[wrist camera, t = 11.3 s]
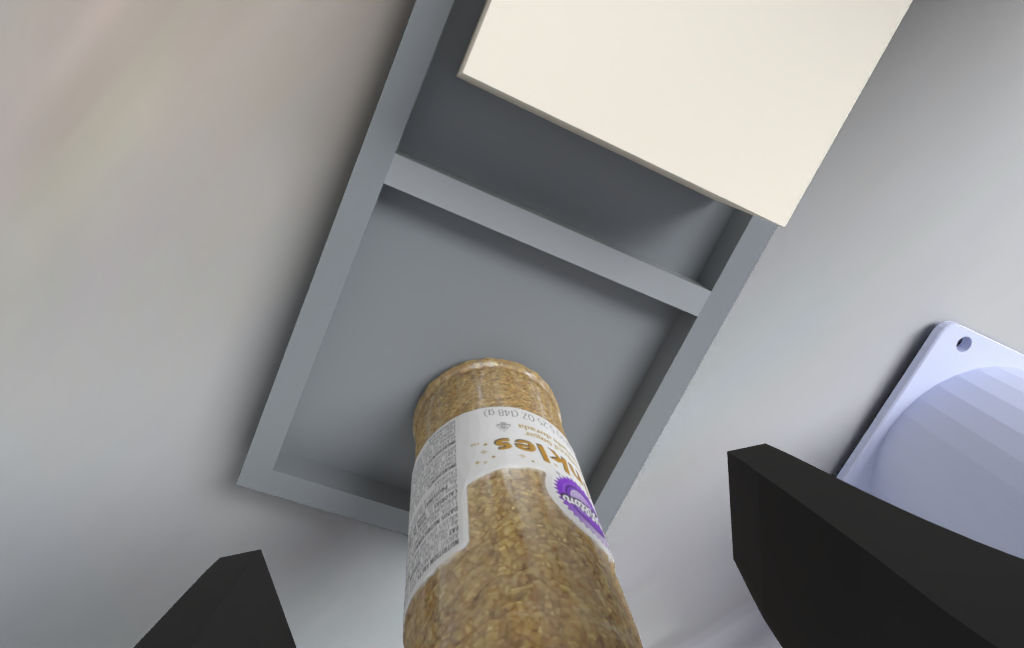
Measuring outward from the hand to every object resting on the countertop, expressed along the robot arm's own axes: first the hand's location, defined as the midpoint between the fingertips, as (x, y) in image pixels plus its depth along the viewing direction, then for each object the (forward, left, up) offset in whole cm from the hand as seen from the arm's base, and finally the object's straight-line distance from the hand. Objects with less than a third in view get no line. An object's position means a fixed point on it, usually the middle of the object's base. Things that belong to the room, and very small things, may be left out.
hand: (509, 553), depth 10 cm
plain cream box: (-1, -9, -10) cm, 13 cm away
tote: (-1, -4, -10) cm, 11 cm away
